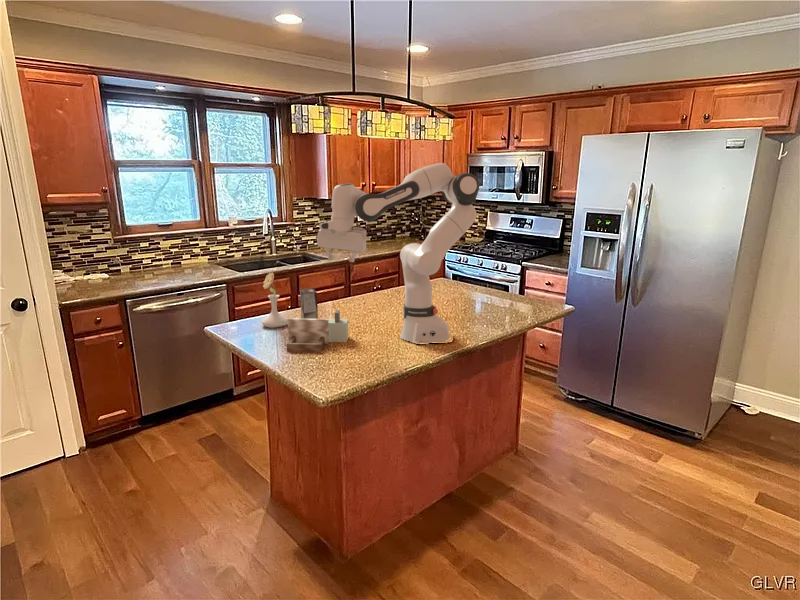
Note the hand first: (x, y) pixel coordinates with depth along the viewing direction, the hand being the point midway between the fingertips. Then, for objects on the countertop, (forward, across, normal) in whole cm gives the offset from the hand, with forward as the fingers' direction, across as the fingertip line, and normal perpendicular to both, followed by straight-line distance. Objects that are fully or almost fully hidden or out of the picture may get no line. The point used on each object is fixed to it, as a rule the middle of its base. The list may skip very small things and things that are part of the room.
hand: (341, 260), depth 189 cm
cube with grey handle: (+33, 0, +1) cm, 33 cm away
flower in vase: (+34, +33, -4) cm, 48 cm away
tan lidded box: (+34, +7, +14) cm, 37 cm away
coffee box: (+33, +20, -11) cm, 40 cm away
